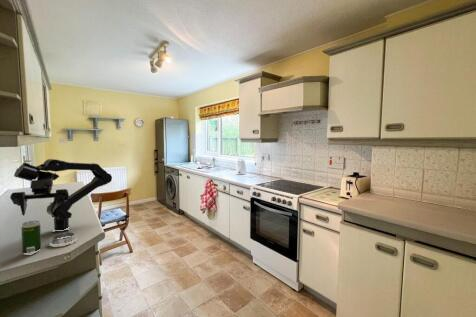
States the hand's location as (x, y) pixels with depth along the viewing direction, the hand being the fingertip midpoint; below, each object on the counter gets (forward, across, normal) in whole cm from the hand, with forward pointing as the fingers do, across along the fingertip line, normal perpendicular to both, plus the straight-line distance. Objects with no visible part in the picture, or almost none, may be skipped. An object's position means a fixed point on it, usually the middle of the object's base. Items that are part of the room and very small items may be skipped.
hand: (37, 213), depth 92 cm
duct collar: (+11, +9, +8) cm, 16 cm away
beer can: (+15, 0, +4) cm, 16 cm away
